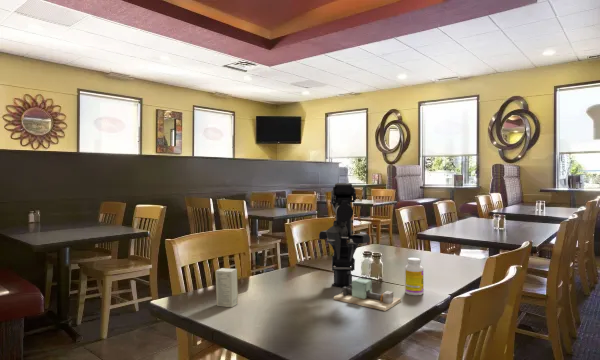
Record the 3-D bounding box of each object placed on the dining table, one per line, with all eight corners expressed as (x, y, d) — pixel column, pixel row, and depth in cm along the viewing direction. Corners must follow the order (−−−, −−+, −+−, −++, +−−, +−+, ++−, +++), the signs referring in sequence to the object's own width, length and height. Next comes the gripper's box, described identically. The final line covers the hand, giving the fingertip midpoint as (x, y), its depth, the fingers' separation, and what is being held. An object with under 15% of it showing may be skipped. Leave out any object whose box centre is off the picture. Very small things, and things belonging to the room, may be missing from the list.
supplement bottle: (424, 296, 142) (424, 261, 142) (405, 295, 144) (405, 260, 143) (422, 291, 149) (422, 257, 149) (404, 290, 150) (404, 256, 150)
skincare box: (238, 303, 136) (237, 268, 135) (231, 307, 131) (231, 271, 131) (222, 301, 138) (221, 267, 138) (215, 306, 133) (215, 270, 133)
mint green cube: (351, 296, 139) (351, 281, 139) (359, 292, 143) (359, 278, 143) (364, 298, 136) (364, 283, 136) (371, 295, 140) (371, 280, 140)
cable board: (333, 299, 140) (333, 287, 140) (351, 291, 149) (351, 280, 149) (385, 310, 127) (385, 298, 127) (400, 301, 137) (400, 289, 137)
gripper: (310, 218, 143) (310, 260, 143) (354, 221, 132) (354, 267, 132) (327, 215, 152) (327, 255, 152) (370, 218, 140) (370, 261, 141)
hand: (343, 260), depth 144 cm, fingers open, 5 cm apart
